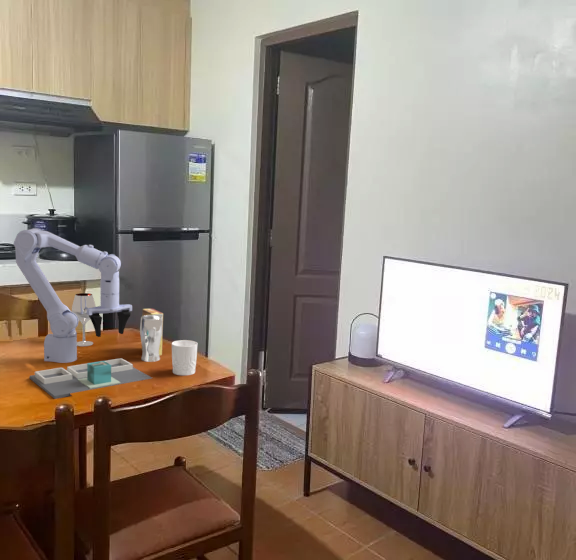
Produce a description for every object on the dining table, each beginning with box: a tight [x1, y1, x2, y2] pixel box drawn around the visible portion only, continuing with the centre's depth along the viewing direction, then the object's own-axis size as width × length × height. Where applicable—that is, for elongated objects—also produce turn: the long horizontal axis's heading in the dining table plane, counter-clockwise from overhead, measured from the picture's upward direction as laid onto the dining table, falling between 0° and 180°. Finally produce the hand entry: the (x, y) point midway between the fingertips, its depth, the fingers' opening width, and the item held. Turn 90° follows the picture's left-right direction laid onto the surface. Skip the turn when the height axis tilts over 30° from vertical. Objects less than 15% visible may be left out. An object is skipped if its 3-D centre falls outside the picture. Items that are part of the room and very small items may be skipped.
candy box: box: [141, 308, 164, 356], centre depth 208 cm, size 9×4×15 cm, turn 36°
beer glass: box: [139, 315, 162, 363], centre depth 200 cm, size 7×7×15 cm
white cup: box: [171, 339, 198, 376], centre depth 188 cm, size 8×8×10 cm
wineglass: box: [71, 292, 97, 347], centre depth 216 cm, size 8×8×18 cm
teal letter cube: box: [86, 360, 111, 385], centre depth 175 cm, size 5×5×5 cm
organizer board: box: [29, 357, 153, 400], centre depth 180 cm, size 20×29×2 cm
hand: (109, 334), depth 195 cm, fingers open, 7 cm apart
